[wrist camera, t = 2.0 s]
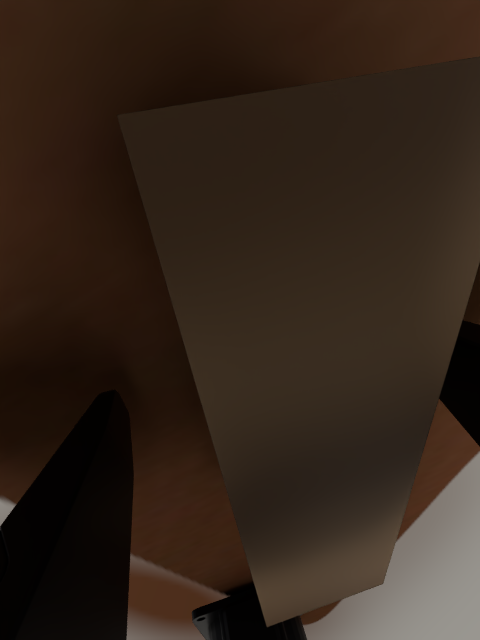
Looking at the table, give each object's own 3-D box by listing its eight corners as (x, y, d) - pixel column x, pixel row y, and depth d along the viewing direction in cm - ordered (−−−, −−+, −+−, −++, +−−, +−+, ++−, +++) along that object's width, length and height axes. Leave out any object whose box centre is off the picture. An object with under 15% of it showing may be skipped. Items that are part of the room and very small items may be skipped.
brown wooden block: (311, 440, 13) (383, 583, 9) (228, 465, 13) (267, 626, 9) (304, 85, 7) (545, 46, 3) (135, 113, 6) (117, 115, 2)
